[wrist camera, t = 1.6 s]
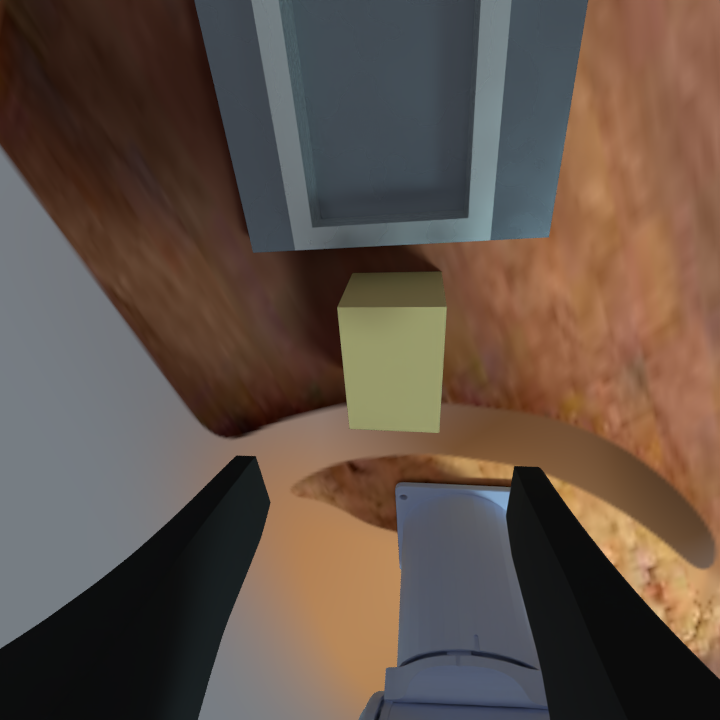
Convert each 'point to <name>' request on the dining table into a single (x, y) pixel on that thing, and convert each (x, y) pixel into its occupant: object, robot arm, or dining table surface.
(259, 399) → the dining table surface
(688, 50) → the dining table surface
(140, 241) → the dining table surface
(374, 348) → the block
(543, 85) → the plate
